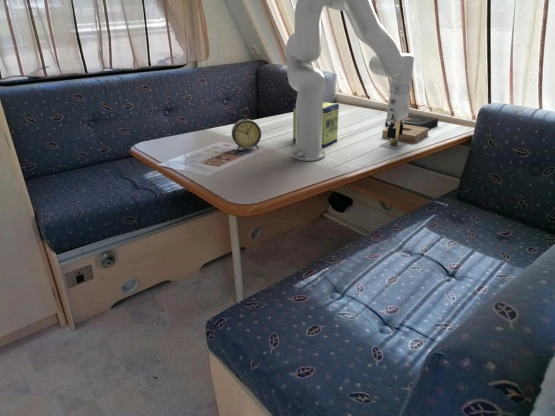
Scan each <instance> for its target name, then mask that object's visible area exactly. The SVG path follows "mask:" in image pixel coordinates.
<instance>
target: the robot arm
mask: <svg viewBox="0 0 555 416" xmlns="http://www.w3.org/2000/svg"><path fill="white" fill-rule="evenodd" d="M324 8H328V9H330V10H331V9H332V10H336V11H340V12H342V11H343V12H344V13H345V15H346V18H347V19H348V21H349V23H350V25H351V27H352V30H353V32H354V34H355V36H356V37H357V38H358V40H360V41H361V42H362V43H364V45H366V46H368V47H369V48H370V49H371V50H372V51H373V53H375V55H373V56H372V57H371V58H370V59H369V63H368V68H369V70H370V72H372V73H373V74H374V75H376V76H380V77H385V78H388V79H390V83H389V92H388V93H389V98H388V104H387V111H386V119H387V123H388V127H387V128H388V132H387V137H388V138H393V139H394V138H395V136H396V128H395V127H396V123H397V121H400V129H399V135H402V133H403V125H402V124H404V119H405V118H407V117H408V114H409V113H410V102H411V101H410V100H411V99H410V97H411V95H410V94H411V87H412V79H413V70H414V62H415V57H414V54H412V53H408V52H400V48H399V46H398V45H397V43H396V42H395V39H393V37H392V36H391V35H390V33H389V32H388V31H387V30H386V29H385V27H384V26H383V25H382V23H380V21H379V18H378V16H377V13H376V12H375V9H374V7H373V5H372V2H371V0H297V1H296V3H295V8H294V32H293V33H292V34H291V35H290V36H289V37H288V39H287V41H286V46H285V57H286V73H287V81H288V84H289V86H290V87H291V88H292V89H293V90H294V91H296V92H297V96H296V103H295V104H296V142H295V145H294V149H293V150H291V151H289V152H288V156H289V157H292V158H294V159H295V160H298V161H303V162H314V161H320V160H322V159H324V158H326V151H325V150H323V149H322V148H321V146H322V111H323V102H324V96H325V92H326V78H325V75H324V73H323V72H322V71H321V70H320V69H318V68H317V67H314V66H313V63H314V62H317V60H318V59H319V58H320V56H321V55H322V32H321V31H322V30H321V29H322V28H321V25H322V24H321V23H322V12H323V9H324ZM392 118H395V120H392ZM392 121H393V122H394V124H393V122H392Z"/></svg>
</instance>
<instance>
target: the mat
mask: <svg viewBox="0 0 555 416" xmlns="http://www.w3.org/2000/svg"><path fill="white" fill-rule="evenodd" d="M409 144H410V143H407V142H401V141H398V145H397V146H391V145H390V139H388V141H386V142H384V143H382V144H380V145H379V147H381V148H385V149H386V148H387V149H391V150H396V151H398V150H400V149H402V148H403V147H406V146H408V145H409Z"/></svg>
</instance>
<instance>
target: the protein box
mask: <svg viewBox="0 0 555 416" xmlns="http://www.w3.org/2000/svg"><path fill="white" fill-rule="evenodd" d="M292 106H293V108H292V109H293V110H292V113H293V115H292V117H293V119H292V124H293V125H292V129H293V131H292V132H293V133H292V142H293V143H296V103H294V104H293V105H292ZM339 111H340V104H339V103H335V102H334V103H333V102H327V101H326V102H325V101H323V111H322V146H321V149H325V148H327V147H329V146H331V145H333V143H334V144H336V143H337V142H338V132H339V131H338V130H339V129H338V128H339ZM335 142H336V143H335Z"/></svg>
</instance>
